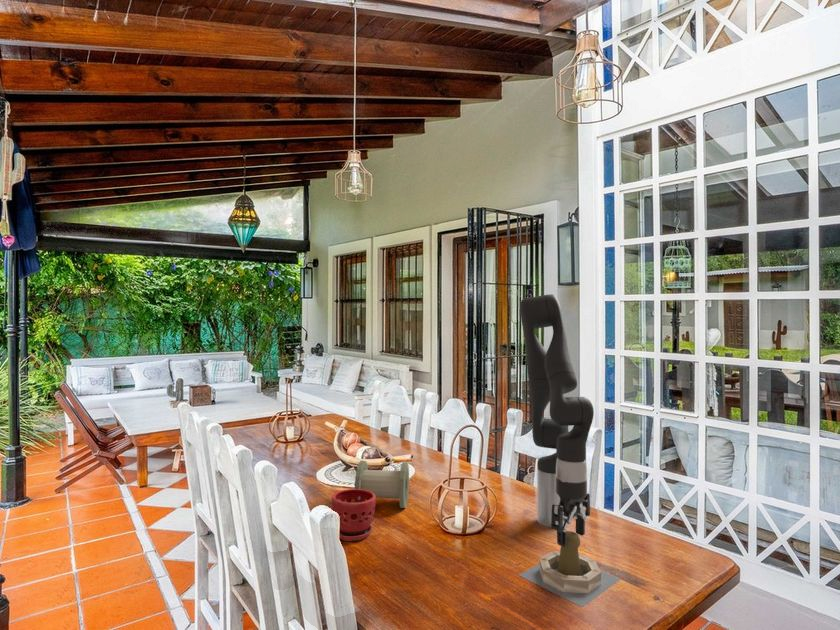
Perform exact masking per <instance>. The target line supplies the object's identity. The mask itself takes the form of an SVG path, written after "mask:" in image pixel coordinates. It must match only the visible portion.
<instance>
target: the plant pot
mask: <svg viewBox="0 0 840 630" xmlns="http://www.w3.org/2000/svg"><path fill="white" fill-rule="evenodd" d="M358 497H361V499H358ZM365 499H366V500H365ZM376 499H377V498H376V496H375V494H374V493H372V492H370V491H367V490H362V489H355V488H349V489H343V490H339V491H337V492H335V493H334V494H333V495H332V497H331V511H332V510H333V511H335V512H337V513H338V514H339V516H340V538H339V540H343V541H348V542H350V541H351V542H352V541H361V540H363V539H365V538H367V537H369V535H370V534H371V533H372V531H373V528H372V525H371V524H372V522H373V519H374V518H375V510H376ZM352 500H354V502H352Z"/></svg>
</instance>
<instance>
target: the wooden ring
mask: <svg viewBox="0 0 840 630" xmlns="http://www.w3.org/2000/svg"><path fill="white" fill-rule="evenodd" d="M559 556H560V551H550V552H548V553H546V554H545V555H542V557H539V563H538V564H539V570H540V573H541V576H542V579H543V582H544V583H546V584H548V585H550V586H552V587H554V588H556V589H558V590H560V591H562V592H570V593H590V592H591V591H592V590H594V589H595V588H597V587H598V586H600V585H601V571H602V570H601V571H600V568H599V566H598V563H597V562H596V560H595V559H592V558H589V557H587V556H585V555H582V554H580V553H579V561H580V569H581V571H583V572H585V573H587V574H585V575H584V576H567V575H564V574H561V573H559V572H557V571H555V570H553V569H554V568H555V567H558V563H559Z"/></svg>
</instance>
